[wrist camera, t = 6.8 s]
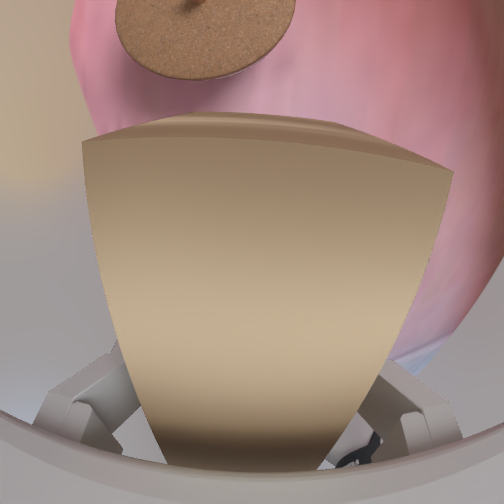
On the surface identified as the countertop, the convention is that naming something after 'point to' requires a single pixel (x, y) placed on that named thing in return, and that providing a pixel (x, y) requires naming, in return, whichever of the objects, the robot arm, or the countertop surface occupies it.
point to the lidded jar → (201, 34)
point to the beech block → (257, 276)
